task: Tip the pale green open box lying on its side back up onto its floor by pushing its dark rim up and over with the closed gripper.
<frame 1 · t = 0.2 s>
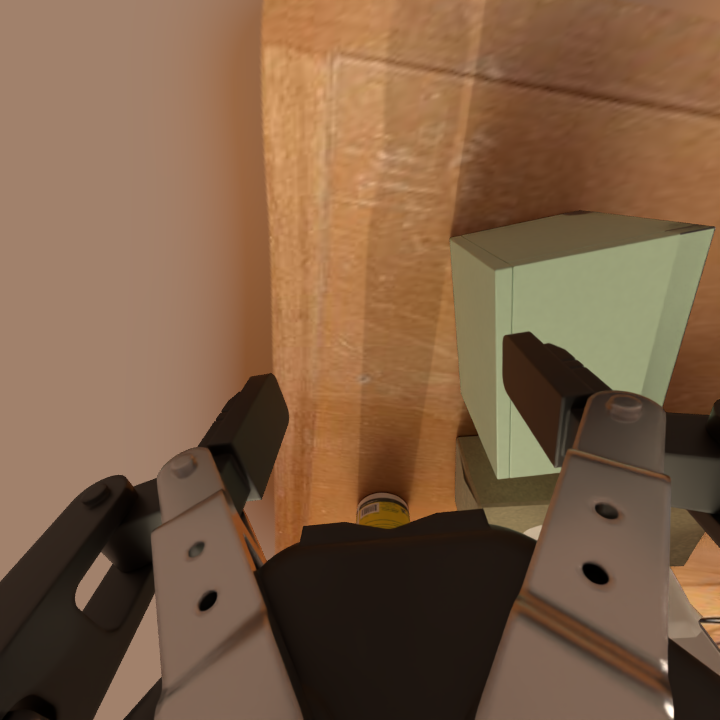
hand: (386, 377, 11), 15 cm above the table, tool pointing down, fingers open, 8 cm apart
pale green open box: (471, 352, 22), point 5 cm above the table
pill bottle: (382, 506, 38), on the table
alarm clock: (595, 537, 39), on the table, touching tissue box
tissue box: (541, 463, 34), on the table, touching alarm clock
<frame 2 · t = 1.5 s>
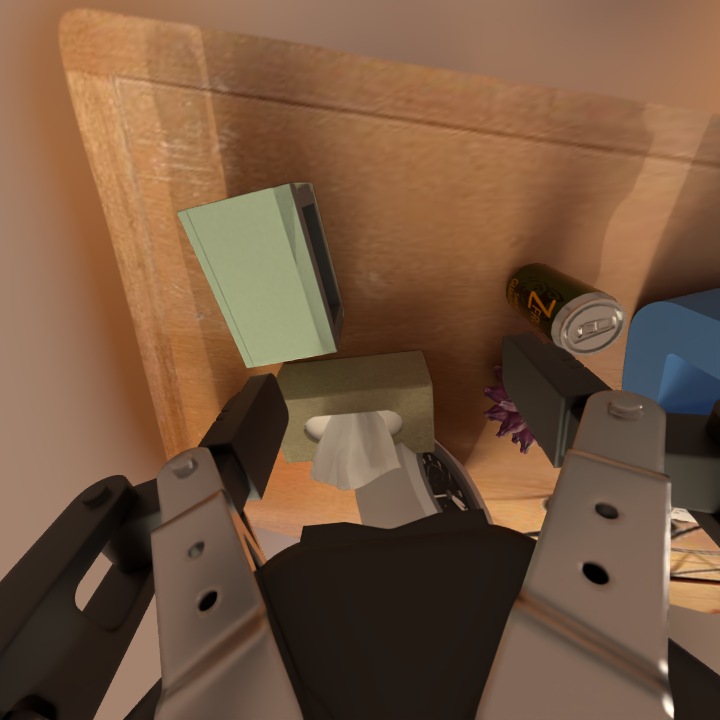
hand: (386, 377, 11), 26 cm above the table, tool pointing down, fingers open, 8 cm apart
pale green open box: (236, 283, 32), point 5 cm above the table
flower: (516, 375, 42), on the table
block: (705, 338, 39), on the table
alarm clock: (419, 454, 49), on the table, touching tissue box
tissue box: (355, 387, 43), on the table, touching alarm clock
beer can: (527, 285, 36), on the table
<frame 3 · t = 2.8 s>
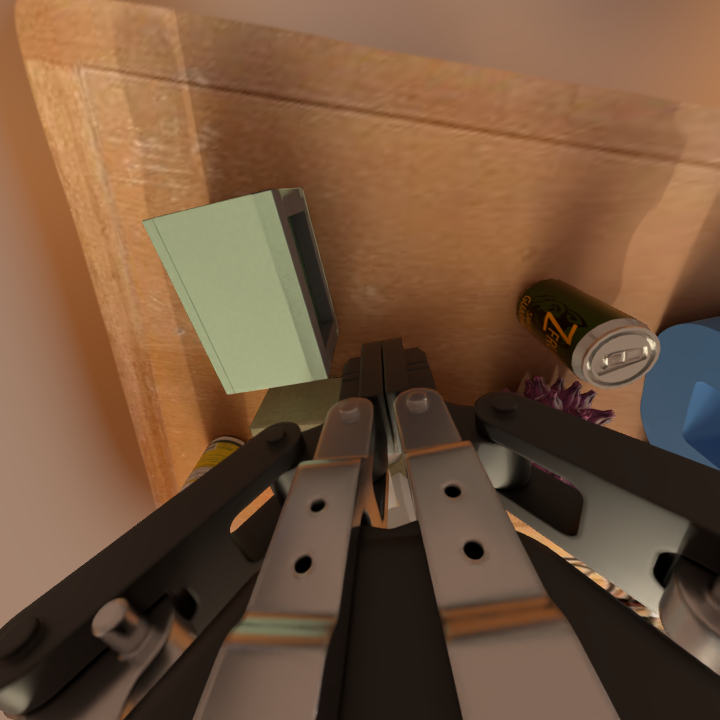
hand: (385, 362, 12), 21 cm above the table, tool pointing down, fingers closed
pale green open box: (217, 298, 28), point 5 cm above the table
flower: (525, 397, 39), on the table
pill bottle: (232, 450, 44), on the table
alarm clock: (419, 478, 46), on the table, touching tissue box
tissue box: (351, 408, 40), on the table, touching alarm clock
beer can: (539, 302, 33), on the table
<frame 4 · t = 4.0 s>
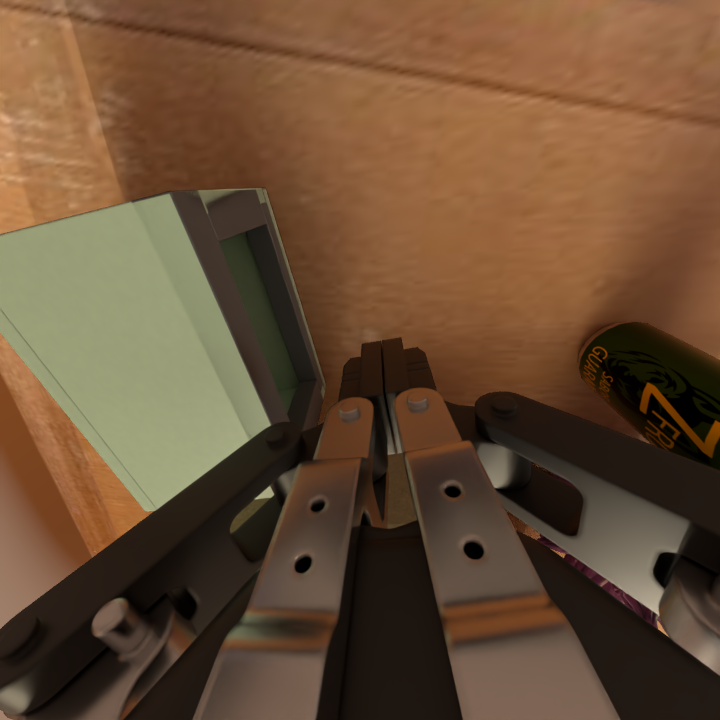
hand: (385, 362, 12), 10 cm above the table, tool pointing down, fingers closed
pale green open box: (136, 358, 19), point 5 cm above the table
flower: (577, 469, 29), on the table
tissue box: (344, 479, 30), on the table, touching alarm clock
beer can: (611, 351, 23), on the table
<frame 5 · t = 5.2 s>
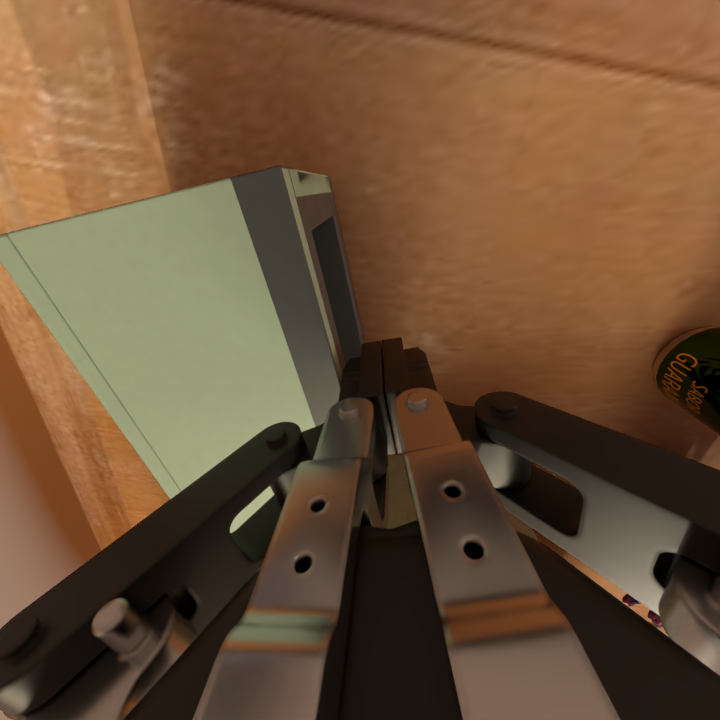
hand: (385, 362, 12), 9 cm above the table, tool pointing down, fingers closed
pale green open box: (184, 363, 17), point 5 cm above the table, touching gripper
tissue box: (385, 491, 28), on the table, touching alarm clock
beer can: (690, 358, 21), on the table
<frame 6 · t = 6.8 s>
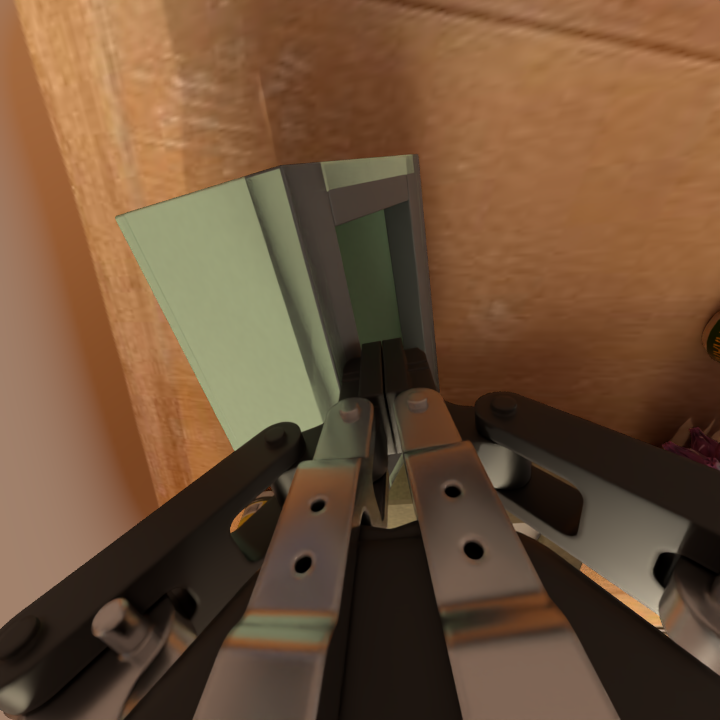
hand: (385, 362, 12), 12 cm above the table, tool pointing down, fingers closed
pale green open box: (261, 325, 19), point 4 cm above the table, tilted 27°, touching gripper
flower: (677, 448, 29), on the table
pill bottle: (277, 506, 35), on the table
tissue box: (440, 458, 30), on the table, touching alarm clock
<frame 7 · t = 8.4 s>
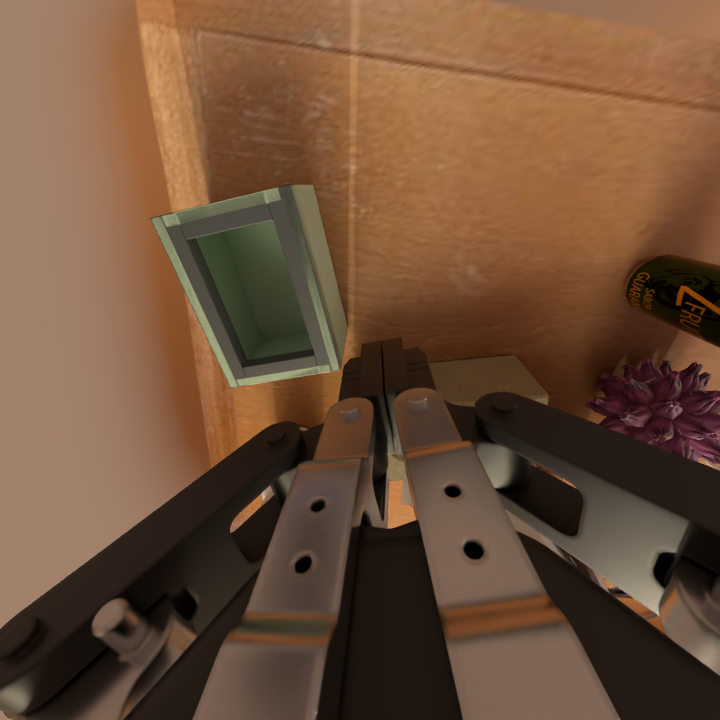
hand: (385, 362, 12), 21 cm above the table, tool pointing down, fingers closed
pale green open box: (284, 273, 32), on the table, tilted 90°
flower: (618, 383, 37), on the table
alarm clock: (494, 470, 44), on the table, touching tissue box
tissue box: (432, 396, 39), on the table, touching alarm clock
beer can: (648, 281, 31), on the table
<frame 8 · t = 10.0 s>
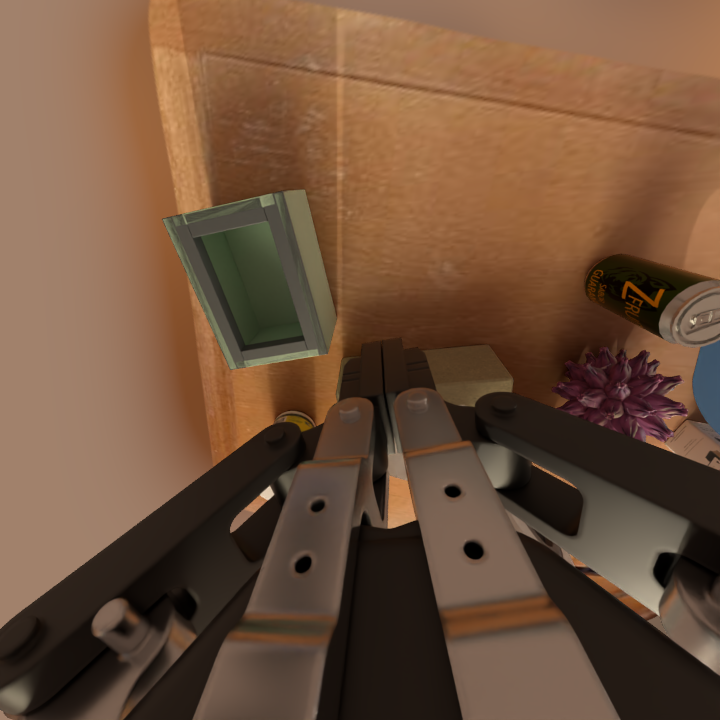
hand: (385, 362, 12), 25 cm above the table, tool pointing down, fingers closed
pale green open box: (279, 268, 36), on the table, tilted 90°
flower: (583, 371, 41), on the table
pill bottle: (296, 425, 47), on the table
alarm clock: (473, 452, 48), on the table, touching tissue box
tissue box: (415, 382, 42), on the table, touching alarm clock
ink box: (699, 436, 45), on the table
beer can: (606, 277, 35), on the table
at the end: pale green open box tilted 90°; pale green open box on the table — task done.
